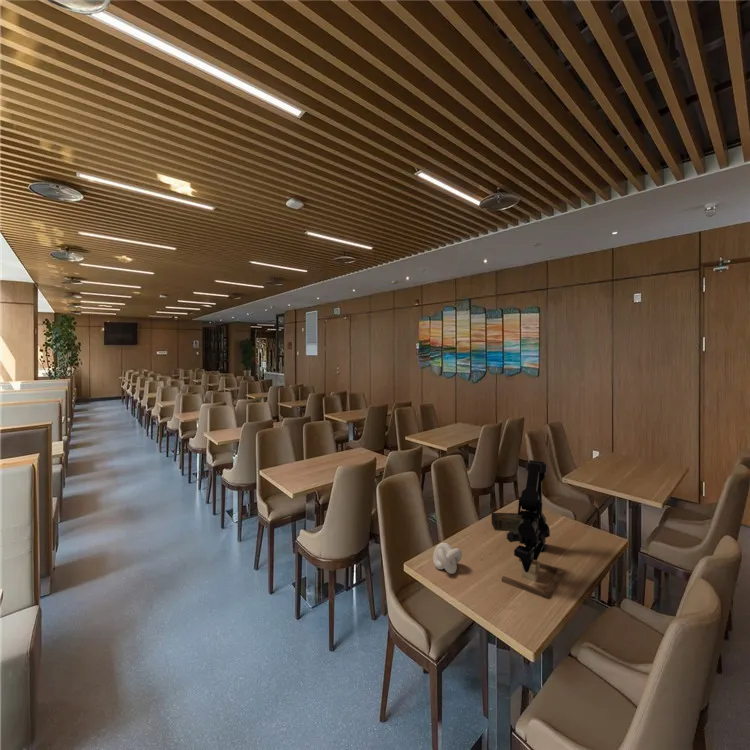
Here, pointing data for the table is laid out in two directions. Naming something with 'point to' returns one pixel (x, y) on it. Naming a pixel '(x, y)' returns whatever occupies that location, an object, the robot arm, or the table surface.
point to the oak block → (532, 571)
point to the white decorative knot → (446, 557)
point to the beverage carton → (506, 521)
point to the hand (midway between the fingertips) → (530, 566)
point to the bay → (534, 590)
